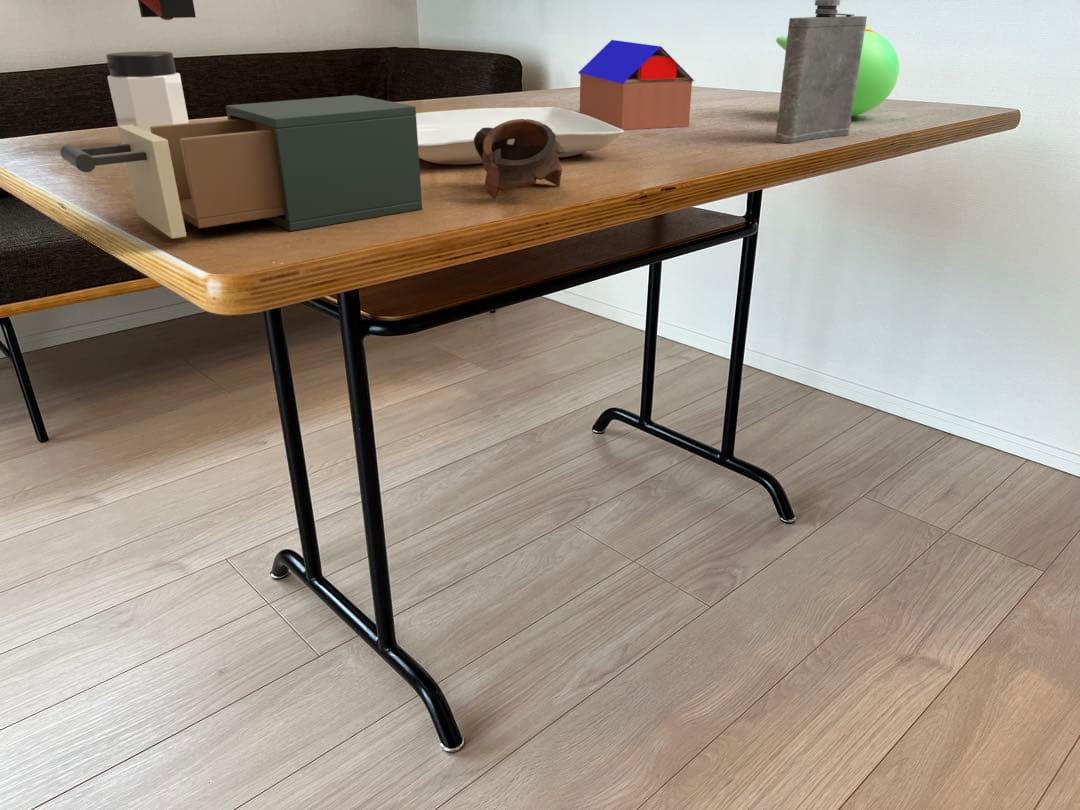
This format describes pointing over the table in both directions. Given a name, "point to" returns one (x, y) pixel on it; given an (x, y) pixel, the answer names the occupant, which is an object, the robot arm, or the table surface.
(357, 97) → the cabinet
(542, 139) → the pottery mug
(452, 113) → the square plate
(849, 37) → the flask
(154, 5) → the onion
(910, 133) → the table surface
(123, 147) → the drawer
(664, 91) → the house
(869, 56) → the toy bird
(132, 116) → the jar
